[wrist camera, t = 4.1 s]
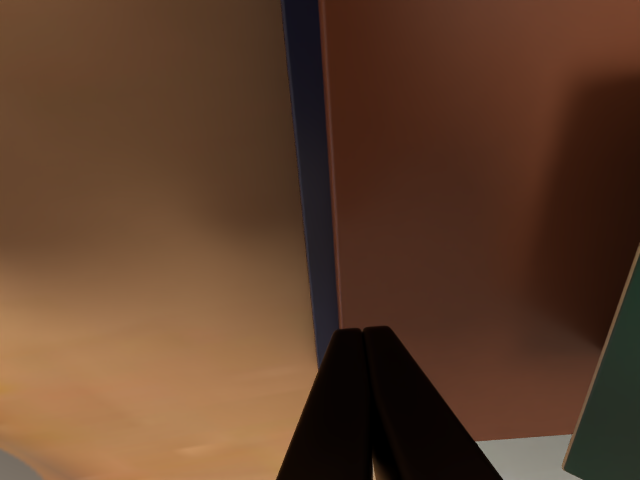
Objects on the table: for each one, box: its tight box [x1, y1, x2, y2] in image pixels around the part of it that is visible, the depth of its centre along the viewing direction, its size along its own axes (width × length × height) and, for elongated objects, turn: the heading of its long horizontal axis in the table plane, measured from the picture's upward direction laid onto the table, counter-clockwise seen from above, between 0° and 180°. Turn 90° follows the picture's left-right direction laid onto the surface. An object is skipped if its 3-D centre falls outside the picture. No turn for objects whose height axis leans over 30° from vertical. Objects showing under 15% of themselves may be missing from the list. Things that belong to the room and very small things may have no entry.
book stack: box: [280, 0, 640, 441], centre depth 12 cm, size 6×14×4 cm, turn 4°
